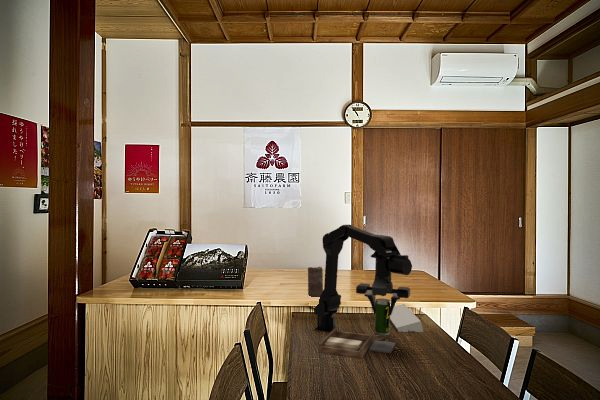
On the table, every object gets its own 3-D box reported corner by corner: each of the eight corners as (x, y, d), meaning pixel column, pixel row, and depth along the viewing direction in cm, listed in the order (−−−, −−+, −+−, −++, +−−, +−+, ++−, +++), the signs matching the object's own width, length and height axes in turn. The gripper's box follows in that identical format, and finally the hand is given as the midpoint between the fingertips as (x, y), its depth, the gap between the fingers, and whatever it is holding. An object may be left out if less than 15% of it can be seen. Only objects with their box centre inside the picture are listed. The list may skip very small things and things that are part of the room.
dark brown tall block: (305, 308, 215) (305, 267, 215) (310, 305, 222) (310, 265, 222) (320, 310, 212) (321, 268, 212) (325, 306, 219) (325, 266, 219)
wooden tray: (318, 352, 157) (318, 343, 157) (335, 335, 175) (335, 328, 175) (362, 358, 151) (362, 349, 151) (374, 340, 169) (374, 332, 169)
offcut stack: (324, 350, 158) (324, 340, 158) (329, 346, 163) (329, 336, 163) (359, 356, 153) (359, 345, 153) (363, 350, 158) (363, 340, 158)
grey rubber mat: (369, 350, 159) (369, 348, 159) (375, 341, 168) (375, 340, 168) (390, 353, 156) (390, 351, 156) (395, 344, 165) (395, 342, 165)
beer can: (373, 334, 161) (373, 300, 160) (376, 329, 166) (377, 297, 165) (388, 336, 159) (388, 302, 158) (391, 331, 164) (391, 299, 163)
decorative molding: (399, 339, 181) (423, 332, 181) (396, 327, 181) (420, 321, 180) (383, 315, 215) (403, 310, 215) (381, 306, 215) (401, 300, 215)
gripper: (352, 272, 158) (351, 316, 158) (406, 277, 151) (405, 323, 151) (360, 267, 168) (359, 309, 168) (410, 271, 161) (410, 314, 161)
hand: (382, 314), depth 162 cm, fingers closed on beer can, 5 cm apart
